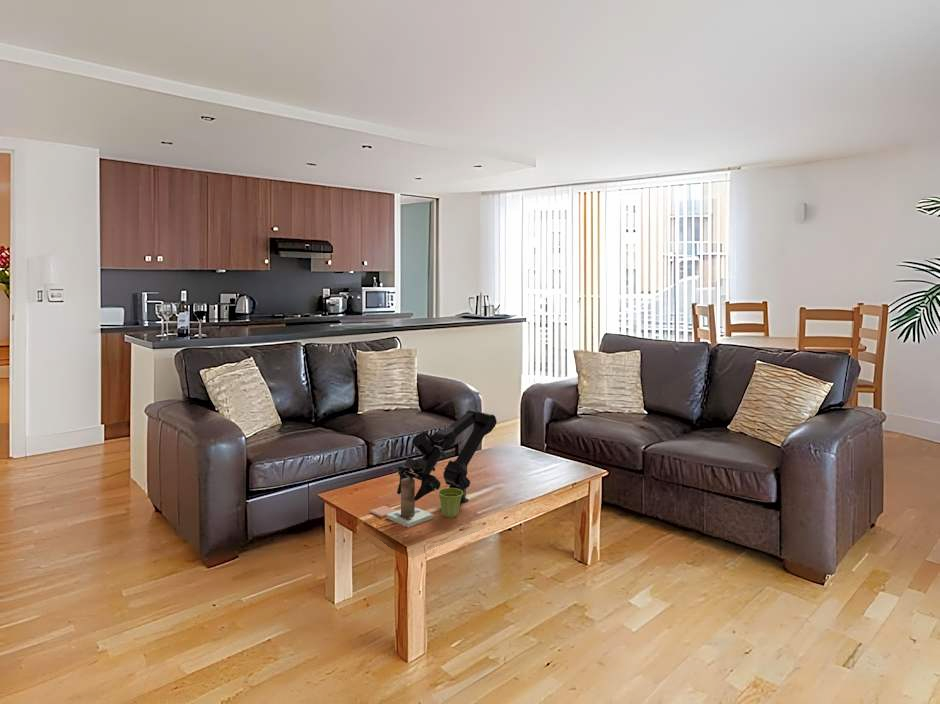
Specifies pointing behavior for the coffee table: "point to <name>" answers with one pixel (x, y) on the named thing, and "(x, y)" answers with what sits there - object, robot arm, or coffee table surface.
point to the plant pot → (450, 501)
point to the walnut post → (407, 497)
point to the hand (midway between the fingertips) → (406, 497)
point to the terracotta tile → (382, 511)
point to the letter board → (410, 521)
